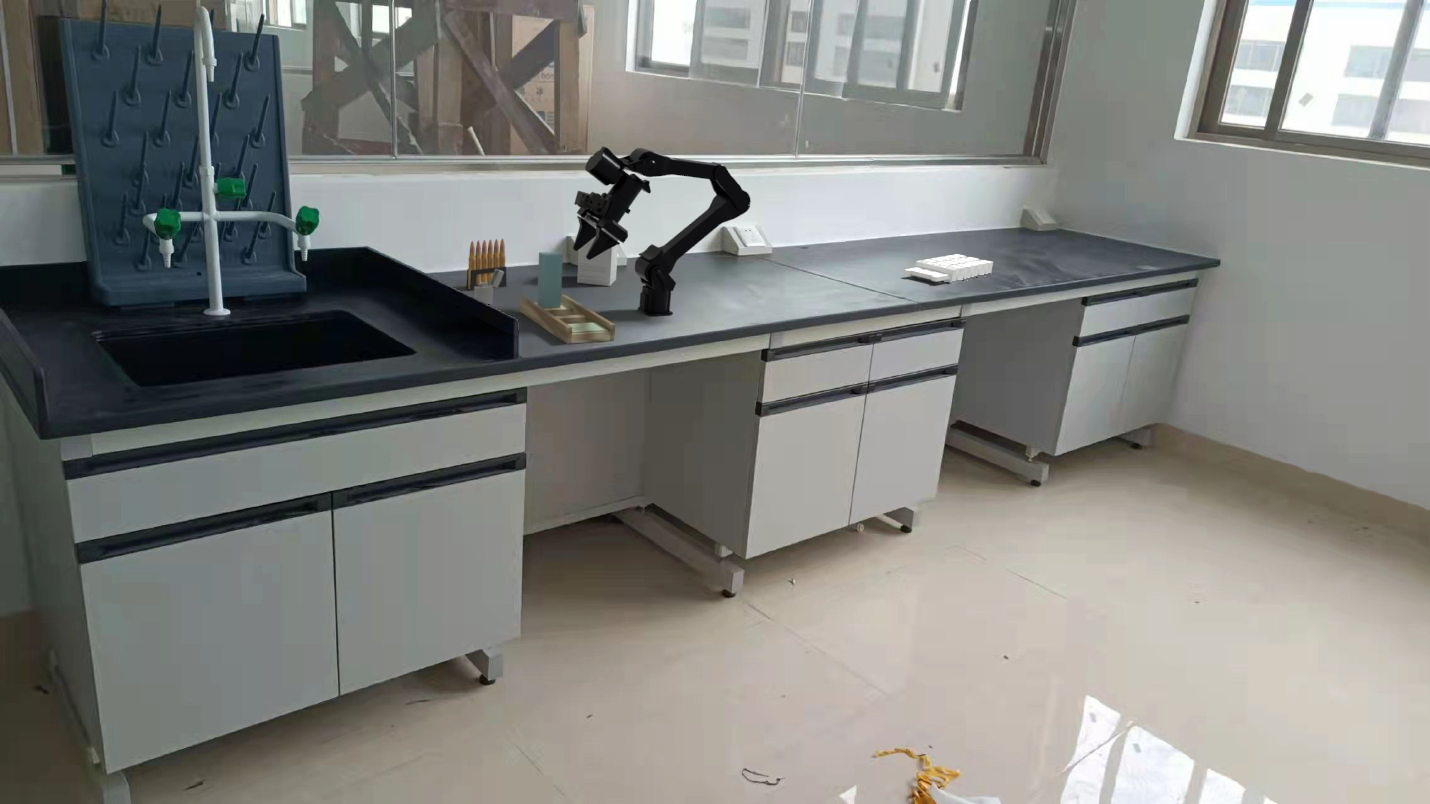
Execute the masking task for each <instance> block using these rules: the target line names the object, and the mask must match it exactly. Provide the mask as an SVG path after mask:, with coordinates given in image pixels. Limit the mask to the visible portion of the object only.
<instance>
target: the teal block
mask: <svg viewBox="0 0 1430 804" xmlns="http://www.w3.org/2000/svg"><path fill="white" fill-rule="evenodd" d="M563 259H564V257H563V255H562V254H561V253H558V251H542V252H540V251H539V253H538V269H537V271H538V272H537V274H538V275H537V276H538V278H537V301H536V302H537V304H538V305H539V306H541V307H542V308H544V309H546V308H560V307H561V295H562V280H563V279H562V278H563V262H564V261H563Z"/></svg>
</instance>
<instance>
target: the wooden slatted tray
mask: <svg viewBox="0 0 1430 804" xmlns="http://www.w3.org/2000/svg"><path fill="white" fill-rule="evenodd" d="M519 298H520V301H519V302H520V303H519V313H521V314H523V316H526V317H527V318H529V320H532V321H533V322H535V323H536V324H537V325H539V326H540V327H542V328H543V329H545V330H546V331H547V332H549V333H550V334H551V335H553V336H555V337H557V338H558V339H559V340H561V341H562V342H564V343H565V344H567V345H570V344H583V343H597V342H608V341H609V342H610V341H615V335H616V324H615V323H614V322H611V321H610V320H608V319H607V318H605V317H603V316H602V315H600V314H598V313H597V312H595V311H593V310H591V309H590V308H588V307H587V306H585V305H583V304H581V303H580V302H578V301H576V300H574V299H573V298H572V297H570V296H568V295H566V294H561V307H560V308H546V309H544V308H542V307H541V306H539V305H538V304H537V301H536V302H533V301H532V300H531V299H529V298H528V297H526V296H520V297H519Z"/></svg>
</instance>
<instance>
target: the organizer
mask: <svg viewBox="0 0 1430 804" xmlns="http://www.w3.org/2000/svg"><path fill="white" fill-rule="evenodd" d="M993 265H994V261H992V260H991V261H990V260H985V259H980V258H977V257H973V256H972V257H971V256H968V257H967V255H962V254H959V253H955V254H952V255H945V256H938V257H932V258H927V259H926V258H925V259H922V260H921V259H920V260H916V261H915V266H914V267H911V268H906V269H905V268H904V272H903V273H904V275H907V276H913V277H919V278H921V279H922V278H923V279H927V280H930V281H932V282H941V281H942V280H946V281H951V282H952V281H956V280H963V278H964V279H966V278H970V277H974V276H977V275H984V274H988V273H991V274H992V271H993Z"/></svg>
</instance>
